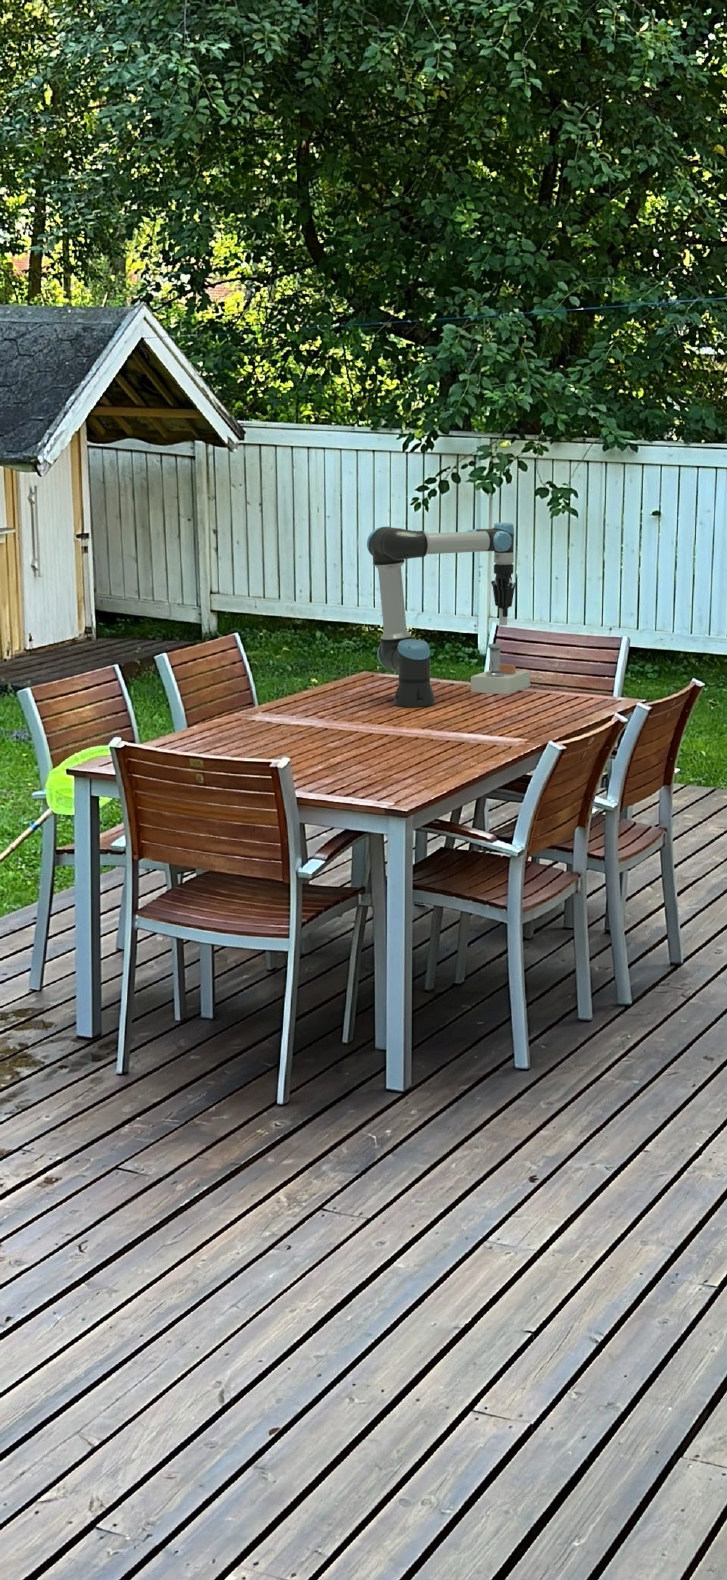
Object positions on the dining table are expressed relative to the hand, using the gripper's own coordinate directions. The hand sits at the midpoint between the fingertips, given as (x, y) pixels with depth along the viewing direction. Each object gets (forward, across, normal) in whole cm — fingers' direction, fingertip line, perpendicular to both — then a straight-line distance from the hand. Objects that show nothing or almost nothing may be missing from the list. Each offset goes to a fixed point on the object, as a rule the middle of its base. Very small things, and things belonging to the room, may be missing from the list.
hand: (503, 625), depth 690 cm
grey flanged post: (+22, +3, -6) cm, 23 cm away
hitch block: (+25, +1, -2) cm, 25 cm away
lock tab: (+18, 0, 0) cm, 18 cm away
